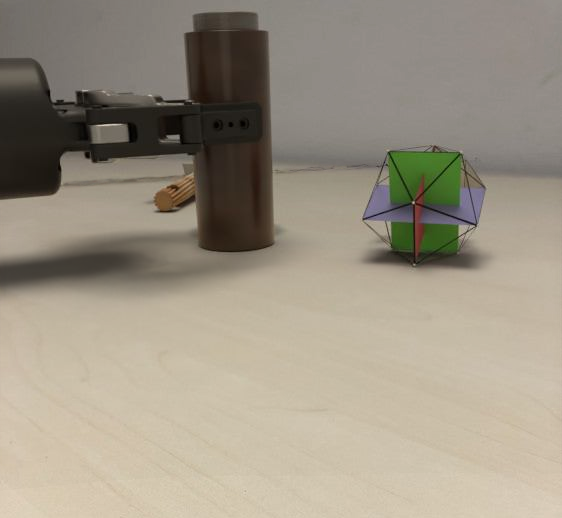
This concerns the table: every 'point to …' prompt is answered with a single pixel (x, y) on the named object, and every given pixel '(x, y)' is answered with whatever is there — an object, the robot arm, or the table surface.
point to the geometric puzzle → (427, 200)
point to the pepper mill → (232, 157)
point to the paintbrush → (176, 191)
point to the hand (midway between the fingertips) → (234, 118)
